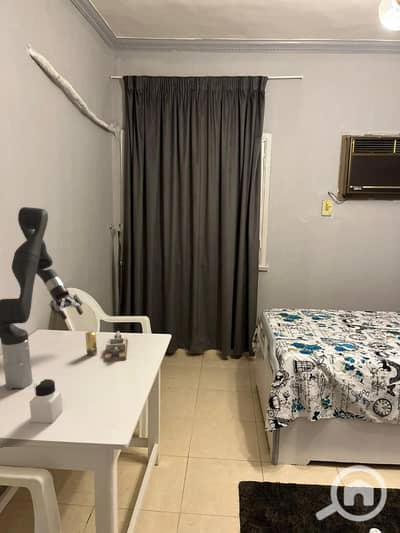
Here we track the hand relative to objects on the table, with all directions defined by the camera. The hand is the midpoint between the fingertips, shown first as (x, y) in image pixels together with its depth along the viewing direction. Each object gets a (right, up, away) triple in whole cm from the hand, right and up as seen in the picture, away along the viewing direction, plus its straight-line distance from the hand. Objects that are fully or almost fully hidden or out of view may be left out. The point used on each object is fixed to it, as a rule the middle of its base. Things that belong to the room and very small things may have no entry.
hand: (73, 316), depth 177 cm
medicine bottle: (+9, -25, -54) cm, 60 cm away
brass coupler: (+10, -17, -4) cm, 20 cm away
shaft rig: (+20, -16, -1) cm, 26 cm away
